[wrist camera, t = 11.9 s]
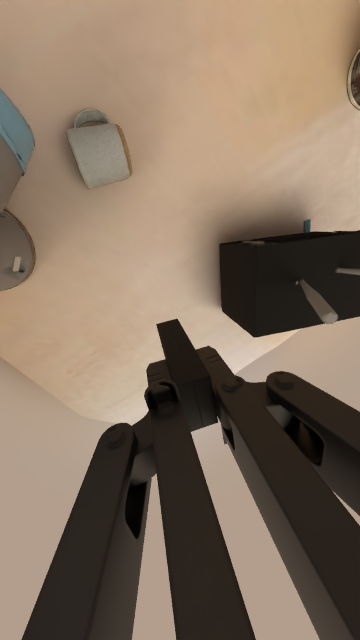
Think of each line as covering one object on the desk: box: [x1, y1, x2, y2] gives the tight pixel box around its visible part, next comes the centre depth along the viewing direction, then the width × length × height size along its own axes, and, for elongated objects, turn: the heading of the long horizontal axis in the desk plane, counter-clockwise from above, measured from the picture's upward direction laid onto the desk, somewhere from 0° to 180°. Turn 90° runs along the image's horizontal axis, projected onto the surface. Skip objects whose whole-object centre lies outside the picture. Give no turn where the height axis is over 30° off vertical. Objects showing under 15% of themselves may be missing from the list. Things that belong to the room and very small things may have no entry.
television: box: [220, 230, 360, 337], centre depth 39 cm, size 23×30×21 cm
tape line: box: [304, 220, 311, 233], centre depth 53 cm, size 2×20×1 cm, turn 13°
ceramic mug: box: [66, 110, 132, 189], centre depth 33 cm, size 11×8×8 cm
